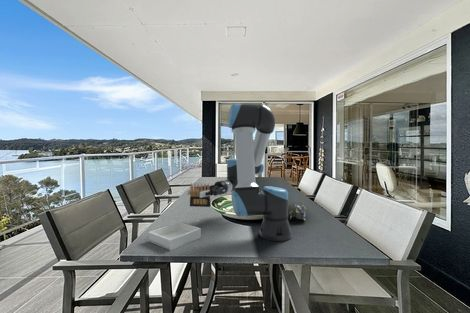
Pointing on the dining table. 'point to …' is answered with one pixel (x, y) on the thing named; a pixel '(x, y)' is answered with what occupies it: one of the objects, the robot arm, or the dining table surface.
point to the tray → (174, 235)
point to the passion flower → (298, 211)
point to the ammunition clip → (196, 199)
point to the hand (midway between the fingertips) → (193, 193)
